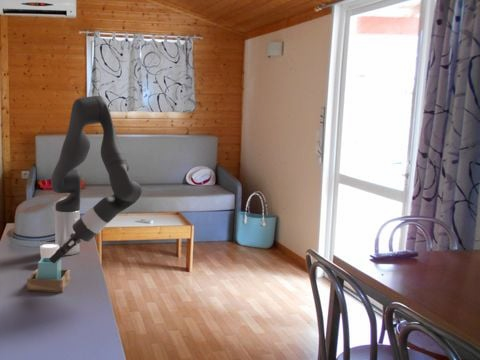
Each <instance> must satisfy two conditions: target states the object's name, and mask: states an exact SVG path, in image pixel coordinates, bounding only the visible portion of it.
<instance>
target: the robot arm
mask: <svg viewBox="0 0 480 360" xmlns="http://www.w3.org/2000/svg"><path fill="white" fill-rule="evenodd" d="M95 124H100V126H101V128H102V131H103V135H102V141H101V145H100V157H101V160H102V163H103V165H104V167H105V170H106V172H107V174H108V179H109V183H110V188H111V190H112V192H113V194H112V195H110V196H105V197H103V198H102V199H101V200H99V201H98V202H97V203H96V204H95V205H93V207H91V208H90V209H89V210H88V211H86V212H85V213H84V214H83V215H82V216H81V214H80V213H81V193H82V174H81V172H80V171H79V169H76V168H77V167H79V166H80V165H81V164H83V163H84V162H85V160H86V159H87V156H88V155H89V152H90V148H91V141H90V139H89V137H88V135H87V134H86V133H85V132H84V128H85V127H86V126H88V125H89V126H90V125H95ZM129 167H130V166H129V164H128V162H127V160H126V157H125V154H124V153H123V151H122V148H121V146H120V143H119V139H118V136H117V132H116V129H115V124H114V121H113V117H112V115H111V111H110V108H109V105H108V103H107V101H106V99H105V98H104V97H103V96H101V95H92V96H84V97H79V98H78V97H77V98H76V99H75V100H74V101H73V104H72V106H71V112H70V118H69V123H68V128H67V131H66V134H65V138H64V141H63V143H62V147H61V151H60V155H59V159H58V161H57V163H56V166H55V167H54V169H53V172H52V174H51V178H50V187H51V189H52V191H53V192H54V193H57V194H69V195H68V196H67V197H65V198H64V199H61V200H59V201H57V202H56V203H55V206H54V207H55V213H54V214H55V221H54V222H55V225H54V226H55V236H54V238H55V241H54V242H55V243H54V244H58V245H59V249H58V250H57V251H56V253H55V254H54V255H52V256H51V257H50V258H49V260H50V261H51V262H52V263H55V262H56V261H57V260H58V259H60V258H61V259H62V257H65V256H72V255H77V254H79V253H80V243H81V241H82V240H83V242H86V243H88V242H90V241H92V239H94V238H95V237H96V236H97V235H98V234H99V233H100V232H101V231H103V229H104V228H105V227H106V226H107V225H108V224H109V223H111V221H112V220H113V219H115V217H116V216H117V215H118V214H120V213H121V212H123V211H125V210H127V209H128V208H130V207H131V206H132V205H134V204H135V203H137V202H138V200H139V199H140V197H141V195H142V187H141V185H140V183H138V181H137V182H136V181H134V180H132V179H131V177H130V175H129Z"/></svg>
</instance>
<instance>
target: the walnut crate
mask: <svg viewBox="0 0 480 360" xmlns="http://www.w3.org/2000/svg"><path fill="white" fill-rule="evenodd" d="M26 280H27V281H26V287H27V288H26V289H27V291H26V292H27V293H61V294H63V293H64V292H65V290H66V288H67V286H68V285H69V284H70V282H71V269H66V268H65V269H64V268H63V269H62V268H61V280H54V279H38V268H36V269H35V270H34V271H33V272H32V273H31V275H30V276H29V277H28V278H27V279H26Z"/></svg>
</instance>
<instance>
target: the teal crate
mask: <svg viewBox="0 0 480 360" xmlns="http://www.w3.org/2000/svg"><path fill="white" fill-rule="evenodd" d="M37 269H38V279H54V280H61V269H62V257H61V258H60V259H58V260H57V261H56V262H55V263H52V262H51V261H50V260H49V258H44V257H43V258H42V259H41V258H40V260H39V261H38V262H37Z"/></svg>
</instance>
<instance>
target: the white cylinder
mask: <svg viewBox="0 0 480 360" xmlns="http://www.w3.org/2000/svg"><path fill="white" fill-rule="evenodd" d="M58 249H59V245H58V244H55V243H44V244H41V245H39V252H40V260H41V259H42V258H43V257H44V258H50V257H51V256H52V255H54V254H55V253H56V251H57V250H58Z"/></svg>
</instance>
